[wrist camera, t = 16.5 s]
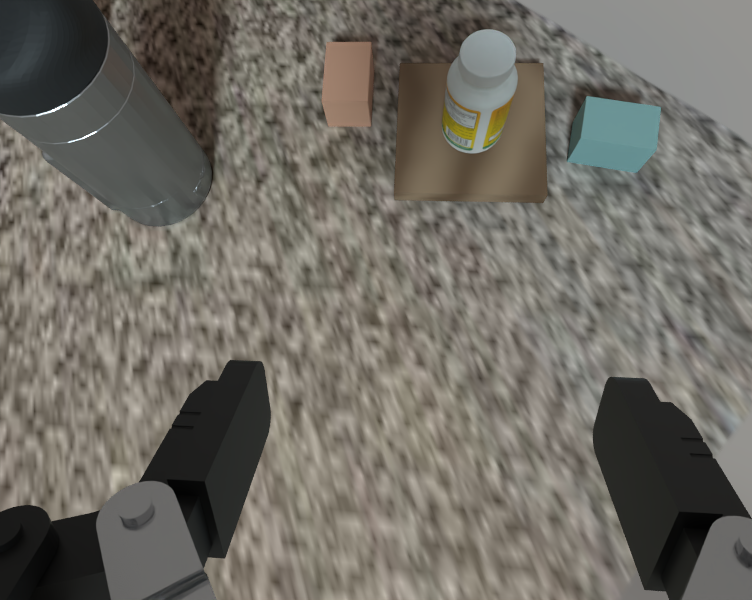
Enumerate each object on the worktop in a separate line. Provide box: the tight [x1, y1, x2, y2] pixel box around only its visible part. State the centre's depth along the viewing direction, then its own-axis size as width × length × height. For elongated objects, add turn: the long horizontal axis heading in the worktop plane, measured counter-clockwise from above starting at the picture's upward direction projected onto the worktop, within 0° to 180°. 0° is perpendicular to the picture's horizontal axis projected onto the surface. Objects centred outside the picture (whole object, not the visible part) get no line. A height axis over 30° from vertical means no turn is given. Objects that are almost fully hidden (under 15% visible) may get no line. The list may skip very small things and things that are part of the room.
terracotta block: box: [322, 42, 374, 127], centre depth 48 cm, size 6×4×4 cm, turn 177°
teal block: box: [567, 96, 661, 173], centre depth 45 cm, size 6×4×4 cm, turn 78°
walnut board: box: [394, 63, 547, 203], centre depth 47 cm, size 13×13×2 cm
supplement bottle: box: [442, 29, 518, 153], centre depth 42 cm, size 5×5×10 cm
